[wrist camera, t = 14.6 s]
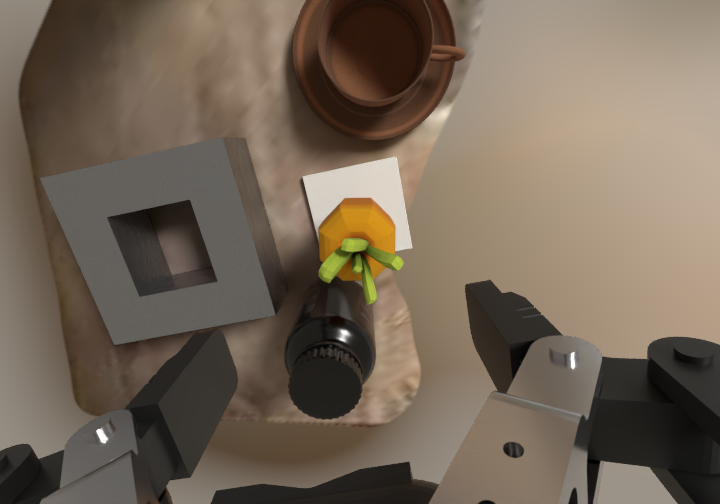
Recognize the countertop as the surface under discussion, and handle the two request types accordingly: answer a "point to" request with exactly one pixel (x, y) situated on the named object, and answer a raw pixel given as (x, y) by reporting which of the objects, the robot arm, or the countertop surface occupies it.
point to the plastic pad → (361, 193)
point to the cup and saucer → (374, 62)
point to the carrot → (357, 244)
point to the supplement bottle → (330, 349)
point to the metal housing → (143, 251)
